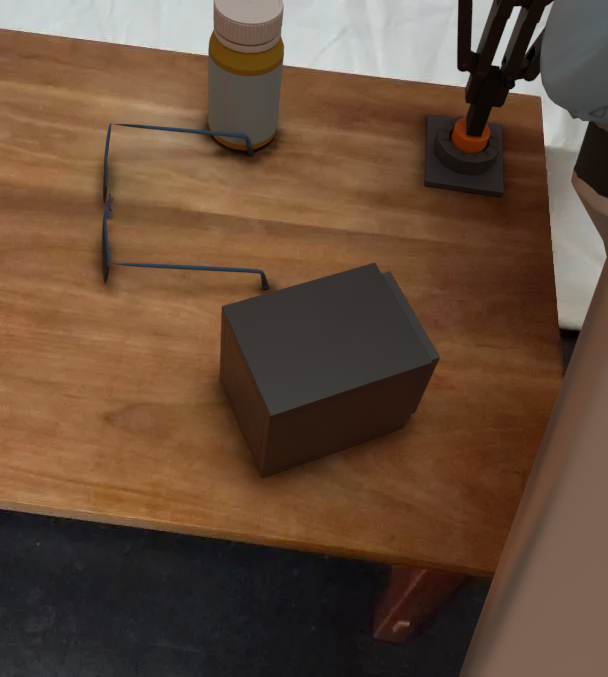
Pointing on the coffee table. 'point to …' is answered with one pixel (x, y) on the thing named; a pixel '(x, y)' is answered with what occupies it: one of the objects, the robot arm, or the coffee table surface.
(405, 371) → the dark grey drawer box
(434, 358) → the pulled-out drawer
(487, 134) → the button
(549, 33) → the robot arm
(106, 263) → the sunglasses
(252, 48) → the bottle
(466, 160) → the block
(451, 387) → the coffee table surface
